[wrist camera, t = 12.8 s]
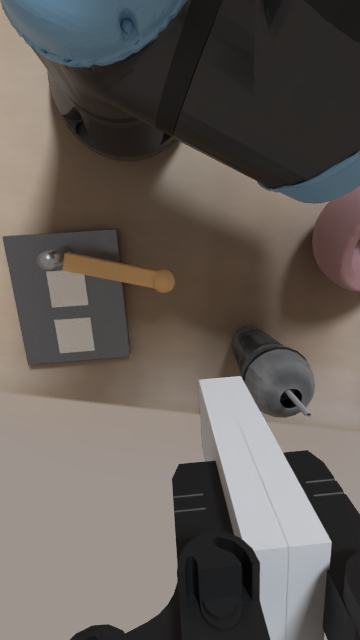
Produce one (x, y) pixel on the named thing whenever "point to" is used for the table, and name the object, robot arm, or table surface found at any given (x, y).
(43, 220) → the table surface
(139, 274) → the wooden lever handle
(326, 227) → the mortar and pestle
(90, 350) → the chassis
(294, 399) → the beverage cup
